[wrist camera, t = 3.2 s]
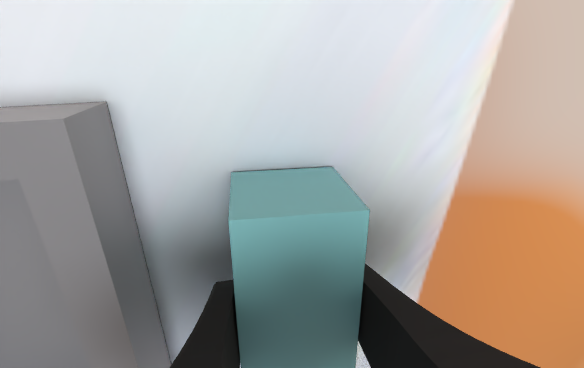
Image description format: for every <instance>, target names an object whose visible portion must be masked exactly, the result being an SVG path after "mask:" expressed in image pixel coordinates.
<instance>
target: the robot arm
mask: <svg viewBox="0 0 584 368" xmlns="http://www.w3.org/2000/svg"><path fill="white" fill-rule="evenodd" d="M358 341H359V343H360V345H361V347H362V350H363V352H364V354H365V356H366V358H367V360H368V362H369V364H370V366H371V368H540V367H537V366H535V365H533V364H530V363H528V362H525V361H523V360H520V359H518V358H516V357H513V356H511V355H509V354H507V353H505V352H502V351H500V350H498V349H496V348H494V347H492V346H490V345H487V344H486V343H484V342H482V341H479V340H477V339H475V338H473V337H472V336H470V335H468V334H466V333H464V332H462V331H460V330H459V329H457V328H455V327H454V326H452V325H450V324H448V323H447V322H445V321H443V320H442V319H440V318H438V317H437V316H435V315H434V314H432V313H431V312H429V311H428V310H426V309H425V308H423V307H422V306H420V305H419V304H417V303H416V302H414V301H413V300H412V299H410V298H409V297H407V296H406V295H405V294H403V293H402V292H401V291H399V290H398V289H397V288H395V287H394V286H393V285H392V284H390V283H389V282H388V281H386V280H385V279H384V278H383V277H381V276H380V275H379V274H378V273H376V272H375V271H374V270H373V269H371V268H370V267H369V266H368V265H366V264H365V268H364V278H363V289H362V300H361V311H360V322H359V333H358ZM170 368H240V352H239V340H238V328H237V316H236V305H235V293H234V281H233V280H229V281H221V282H216V283H215V284H214V286H213V289H212V291H211V294H210V296H209V299H208V301H207V303H206V305H205V308H204V310H203V312H202V314H201V316H200V318H199V320H198V321H197V323H196V325H195V327H194V329H193V331H192V333H191V334H190V336H189V338H188V339H187V341H186V343H185V344H184V346H183V348H182V349H181V351H180V353H179V354H178V356H177V357H176V359H175V360H174V362H173V363H172V365H171V366H170Z"/></svg>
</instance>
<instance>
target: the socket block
mask: <svg viewBox="0 0 584 368" xmlns="http://www.w3.org/2000/svg"><path fill="white" fill-rule="evenodd" d="M170 366H171V362H170V358H169V354H168V350H167V346H166V342H165V338H164V334H163V330H162V326H161V322H160V318H159V314H158V310H157V305H156V301H155V297H154V293H153V289H152V285H151V281H150V277H149V273H148V269H147V265H146V261H145V257H144V253H143V249H142V245H141V241H140V236H139V232H138V228H137V224H136V220H135V216H134V212H133V208H132V204H131V200H130V196H129V192H128V188H127V184H126V180H125V176H124V172H123V167H122V163H121V159H120V155H119V151H118V147H117V143H116V139H115V135H114V131H113V127H112V123H111V119H110V115H109V111H108V107H107V103H106V102H93V103H74V104H55V105H36V106H17V107H0V368H170Z"/></svg>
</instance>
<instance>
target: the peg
mask: <svg viewBox="0 0 584 368" xmlns="http://www.w3.org/2000/svg"><path fill="white" fill-rule="evenodd" d="M369 213H370V210H369V209H368V207H367V206H366V205H365V204H364V203H363V202H362V201H361V199H360V198H359V197H358V196H357V195H356V194H355V192H354V191H353V190H352V189H351V188H350V187H349V185H348V184H347V183H346V182H345V181H344V180H343V178H342V177H341V176H340V175H339V174H338V173H337V171H336V170H335V169H334V168H333V167H321V168H302V169H284V170H265V171H246V172H231V185H230V202H229V218H228V222H229V234H230V246H231V258H232V269H233V281H234V293H235V305H236V316H237V328H238V340H239V352H240V363H241V368H355V365H356V354H357V344H358V333H359V322H360V311H361V300H362V289H363V278H364V268H365V257H366V246H367V235H368V224H369Z"/></svg>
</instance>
